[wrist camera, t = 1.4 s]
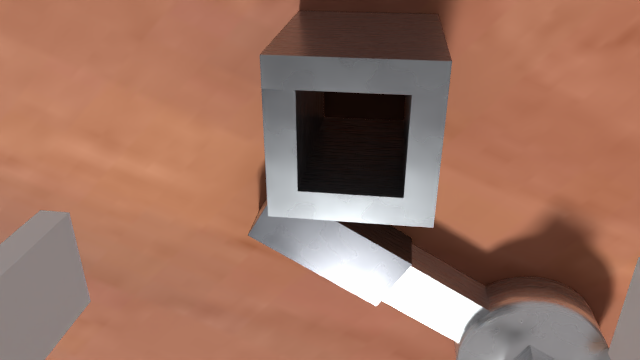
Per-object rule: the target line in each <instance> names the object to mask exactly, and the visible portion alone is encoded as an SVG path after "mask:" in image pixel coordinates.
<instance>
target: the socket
mask: <svg viewBox="0 0 640 360" xmlns="http://www.w3.org/2000/svg"><path fill="white" fill-rule="evenodd" d="M451 65H452V60H451V56H450V53H449V49H448V46H447V43H446V39H445V36H444V32H443V29H442V25H441V22H440V18H439V15H438V14H411V13H371V12H331V11H298V12H297V14H296V15H295V16H294V17H293V18H292V19H291V20H290V21H289V22H288V24H287V25H286V26H285V27H284V28H283V29H282V30H281V31H280V33H279V34H278V35H277V36H276V37H275V38H274V39H273V40H272V42H271V43H270V44H269V45H268V46H267V47H266V48H265V49H264V50H263V52H262V53H261V54H260V69H261V88H262V108H263V127H264V147H265V166H266V186H267V205H268V216H272V217H286V218H301V219H315V220H329V221H344V222H358V223H372V224H386V225H401V226H415V227H429V228H433V227H434V218H435V209H436V200H437V191H438V182H439V173H440V164H441V155H442V146H443V137H444V128H445V119H446V110H447V101H448V92H449V83H450V74H451ZM324 91H328V92H352V93H376V94H399V95H405V108H404V120H385V119H364V118H343V117H324Z"/></svg>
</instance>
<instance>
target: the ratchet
mask: <svg viewBox="0 0 640 360" xmlns="http://www.w3.org/2000/svg"><path fill="white" fill-rule="evenodd" d="M248 236H250V237H252V238H254V239H256V240H257V241H259V242H261V243H263V244H265V245H266V246H268V247H270V248H272V249H274V250H275V251H277V252H279V253H281V254H283V255H284V256H286V257H288V258H290V259H292V260H294V261H295V262H297V263H299V264H301V265H303V266H304V267H306V268H308V269H310V270H312V271H313V272H315V273H317V274H319V275H321V276H322V277H324V278H326V279H328V280H330V281H332V282H333V283H335V284H337V285H339V286H341V287H342V288H344V289H346V290H348V291H350V292H351V293H353V294H355V295H357V296H359V297H360V298H362V299H364V300H366V301H368V302H370V303H371V304H373V305H375V306H377V305H378V304H379V303H380V301H381V300H382V301H384V302H386V303H387V304H389V305H391V306H393V307H395V308H396V309H398V310H400V311H402V312H404V313H405V314H407V315H409V316H411V317H413V318H414V319H416V320H418V321H420V322H422V323H423V324H425V325H427V326H429V327H431V328H432V329H434V330H436V331H438V332H440V333H441V334H443V335H445V336H447V337H449V338H450V339H452V340H454V345H455V353H456V360H611V359H610V357H609V354H608V351H609V348H608V346H607V343H606V341H605V339H604V337H603V335H602V332H601V330H600V328H599V326H598V324H597V321H596V319H595V317H594V315H593V312H592V310H591V308H590V307H589V305H588V303H587V302H586V301H585V300H584V298H583V297H582V296H580V295H579V294H578V293H577V292H576V291H574V290H573V289H571V288H570V287H568V286H566V285H564V284H562V283H559V282H557V281H554V280H550V279H546V278H540V277H514V278H508V279H503V280H500V281H496V282H494V283H491V284H489V285H487V286H484V285H483V284H481V283H479V282H477V281H476V280H474V279H472V278H471V277H469V276H467V275H465V274H464V273H462V272H460V271H458V270H457V269H455V268H453V267H451V266H450V265H448V264H446V263H444V262H443V261H441V260H439V259H437V258H436V257H434V256H432V255H431V254H429V253H427V252H425V251H424V250H422V249H420V248H418V247H417V246H415V245H413V244H412V241H411V237H409V236H407V235H405V234H404V233H402V232H400V231H398V230H397V229H395V228H393V227H391V226H390V225H386V224H372V223H358V222H344V221H329V220H315V219H301V218H286V217H272V216H268V205H267V199H266V201H265V202H264V204H263V205H262V207H261V209H260V210H259V212H258V214H257V216H256V219H255V221H254V223H253V225H252V227H251V230H250V232H249V234H248Z"/></svg>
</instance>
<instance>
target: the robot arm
mask: <svg viewBox="0 0 640 360" xmlns="http://www.w3.org/2000/svg"><path fill="white" fill-rule="evenodd" d="M89 303H90V297H89V292H88V288H87V284H86V280H85V276H84V272H83V268H82V263H81V259H80V255H79V251H78V247H77V243H76V239H75V234H74V230H73V226H72V222H71V218H70V214H69V213H68V212H55V211H43V210H40V211H39V212H38V213H37V214H35V215H34V216H33V217H32V218H31V219H29V220H28V221H27V222H26V223H25V224H24V225H22V226H21V227H20V228H19V229H18V230H17V231H15V232H14V233H13V234H12V235H11V236H9V237H8V238H7V239H6V240H5V241H4V242H2V243H1V244H0V360H45V359H46V357H47V356H48V355H49V353H50V352H51V351H52V350H53V348H54V347H55V346H56V345H57V343H58V342H59V341H60V340H61V338H62V337H63V336H64V334H65V333H66V332H67V331H68V329H69V328H70V327H71V326H72V324H73V323H74V322H75V320H76V319H77V318H78V317H79V315H80V314H81V313H82V312H83V310H84V309H85V308H86V307H87V305H88V304H89ZM608 354H609V357H610V359H611V360H640V257H639V258H638V261H637V264H636V267H635V270H634V273H633V276H632V280H631V283H630V286H629V289H628V292H627V295H626V298H625V301H624V304H623V308H622V311H621V314H620V317H619V320H618V323H617V326H616V329H615V333H614V336H613V339H612V342H611V345H610V348H609V351H608Z"/></svg>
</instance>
